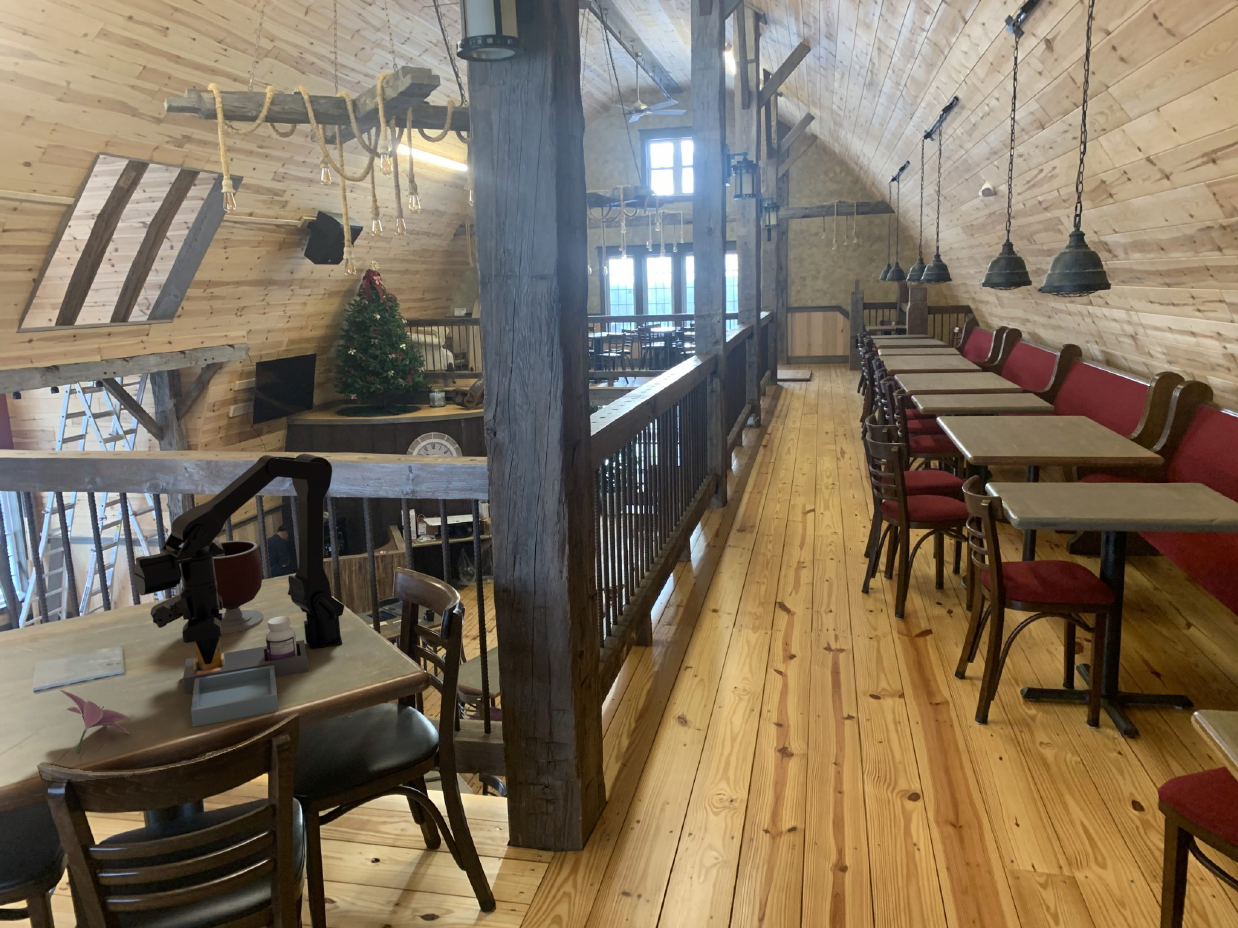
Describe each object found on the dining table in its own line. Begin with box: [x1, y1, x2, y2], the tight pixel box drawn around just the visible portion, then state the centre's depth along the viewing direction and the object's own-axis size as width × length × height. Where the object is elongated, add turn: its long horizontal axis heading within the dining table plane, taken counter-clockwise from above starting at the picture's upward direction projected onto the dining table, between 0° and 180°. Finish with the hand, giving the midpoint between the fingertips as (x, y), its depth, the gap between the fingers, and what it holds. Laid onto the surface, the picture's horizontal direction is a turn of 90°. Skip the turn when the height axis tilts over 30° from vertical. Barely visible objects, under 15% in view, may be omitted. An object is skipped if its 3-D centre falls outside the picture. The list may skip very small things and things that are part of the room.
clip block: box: [182, 639, 309, 694], centre depth 171 cm, size 22×9×4 cm, turn 113°
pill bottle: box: [265, 615, 297, 661], centre depth 173 cm, size 5×5×10 cm
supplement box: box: [195, 640, 222, 671], centre depth 168 cm, size 3×3×10 cm
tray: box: [190, 665, 279, 728], centre depth 159 cm, size 14×14×3 cm
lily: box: [59, 689, 132, 754], centre depth 146 cm, size 12×12×10 cm
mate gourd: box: [212, 537, 265, 634], centre depth 196 cm, size 16×14×20 cm
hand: (208, 659), depth 168 cm, fingers closed on supplement box, 4 cm apart
